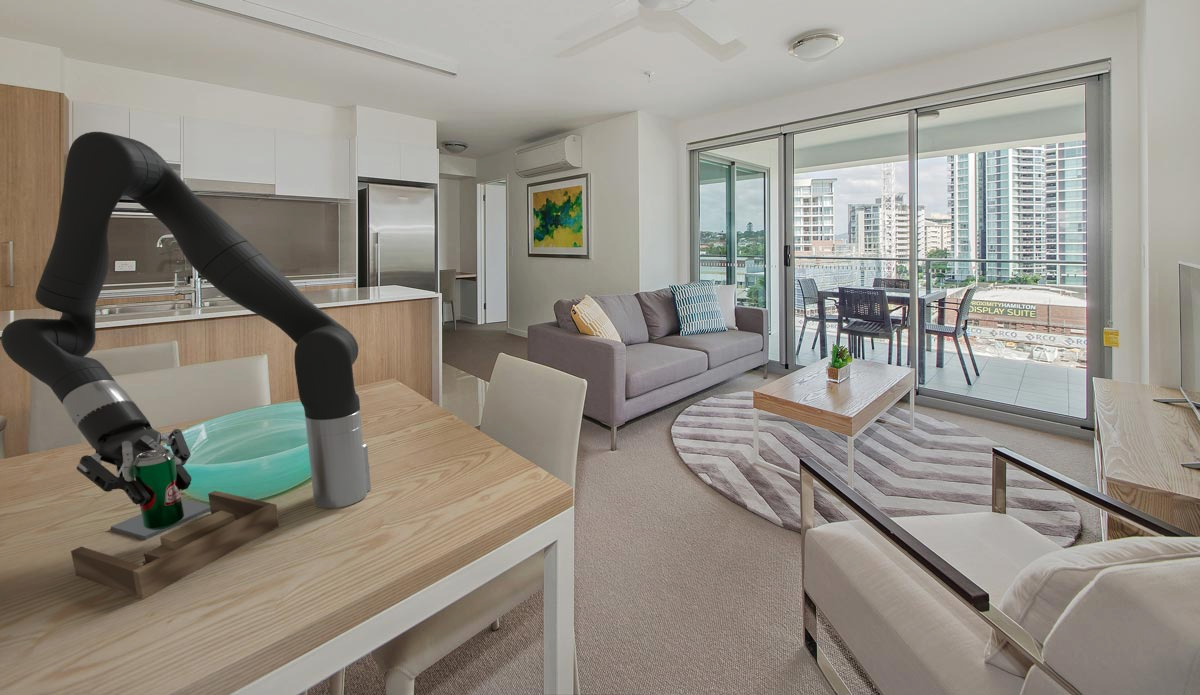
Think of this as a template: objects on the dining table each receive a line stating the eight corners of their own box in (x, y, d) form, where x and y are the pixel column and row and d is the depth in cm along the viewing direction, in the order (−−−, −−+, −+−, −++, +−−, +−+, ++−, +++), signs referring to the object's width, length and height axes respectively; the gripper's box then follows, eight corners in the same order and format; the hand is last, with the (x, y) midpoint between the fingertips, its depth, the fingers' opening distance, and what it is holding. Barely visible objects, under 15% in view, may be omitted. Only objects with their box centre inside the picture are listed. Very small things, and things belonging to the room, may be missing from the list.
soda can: (178, 528, 82) (165, 457, 80) (138, 534, 80) (124, 462, 78) (189, 513, 87) (178, 445, 85) (152, 518, 85) (139, 450, 83)
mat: (181, 500, 98) (180, 498, 98) (213, 508, 95) (213, 505, 95) (111, 529, 88) (110, 526, 88) (145, 539, 85) (144, 536, 85)
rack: (217, 511, 95) (215, 490, 94) (278, 525, 90) (276, 504, 89) (75, 575, 76) (70, 550, 75) (143, 599, 71) (138, 572, 70)
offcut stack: (223, 529, 88) (220, 507, 87) (243, 534, 87) (239, 511, 86) (142, 569, 77) (137, 544, 76) (162, 576, 76) (158, 550, 75)
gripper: (54, 413, 76) (121, 502, 74) (164, 389, 89) (222, 463, 87) (41, 443, 78) (105, 529, 77) (149, 415, 92) (205, 488, 90)
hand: (167, 494), depth 82 cm, fingers closed on soda can, 5 cm apart
